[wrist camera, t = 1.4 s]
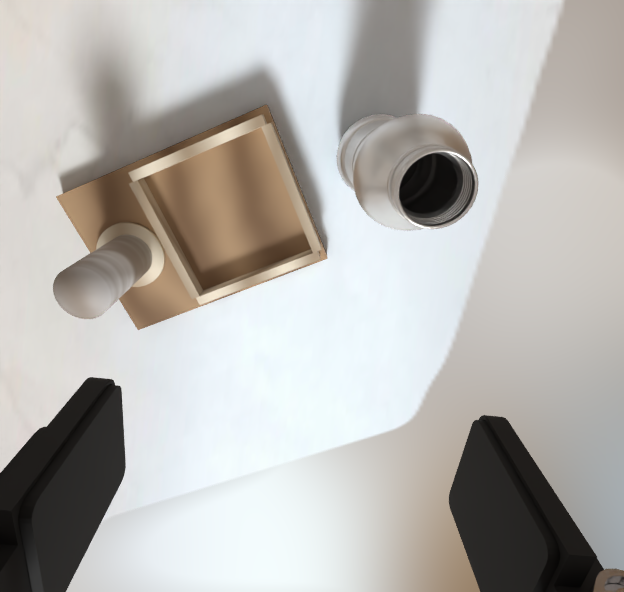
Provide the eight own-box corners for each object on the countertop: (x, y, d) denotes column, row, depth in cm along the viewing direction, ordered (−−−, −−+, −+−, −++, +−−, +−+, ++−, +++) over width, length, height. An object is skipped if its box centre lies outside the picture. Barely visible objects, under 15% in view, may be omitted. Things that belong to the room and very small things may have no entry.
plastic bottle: (329, 122, 37) (350, 128, 18) (408, 107, 36) (513, 97, 18) (340, 198, 39) (370, 270, 21) (415, 184, 39) (513, 246, 20)
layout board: (267, 105, 36) (251, 100, 26) (326, 254, 41) (332, 298, 31) (63, 194, 39) (-22, 221, 29) (142, 324, 44) (93, 385, 34)
